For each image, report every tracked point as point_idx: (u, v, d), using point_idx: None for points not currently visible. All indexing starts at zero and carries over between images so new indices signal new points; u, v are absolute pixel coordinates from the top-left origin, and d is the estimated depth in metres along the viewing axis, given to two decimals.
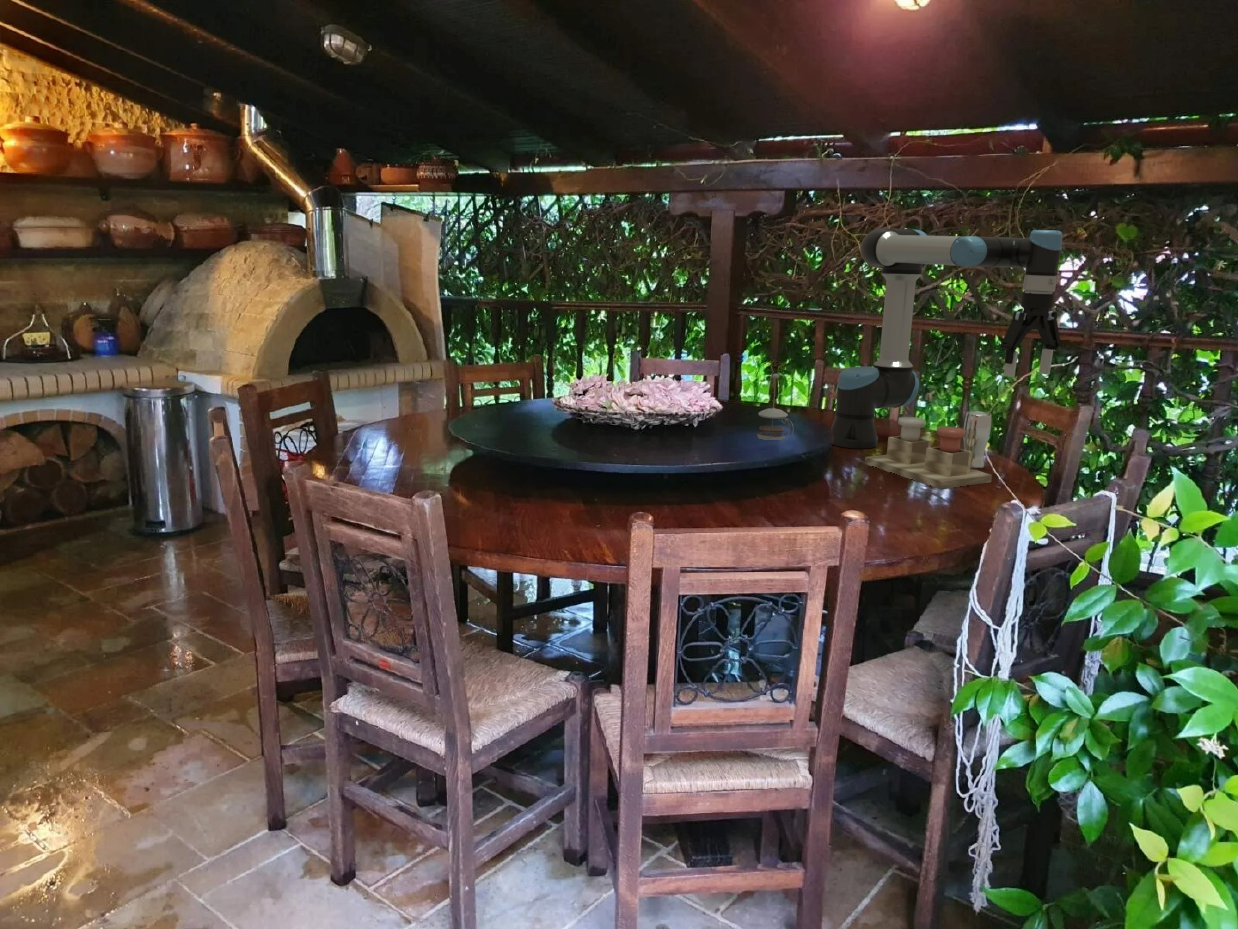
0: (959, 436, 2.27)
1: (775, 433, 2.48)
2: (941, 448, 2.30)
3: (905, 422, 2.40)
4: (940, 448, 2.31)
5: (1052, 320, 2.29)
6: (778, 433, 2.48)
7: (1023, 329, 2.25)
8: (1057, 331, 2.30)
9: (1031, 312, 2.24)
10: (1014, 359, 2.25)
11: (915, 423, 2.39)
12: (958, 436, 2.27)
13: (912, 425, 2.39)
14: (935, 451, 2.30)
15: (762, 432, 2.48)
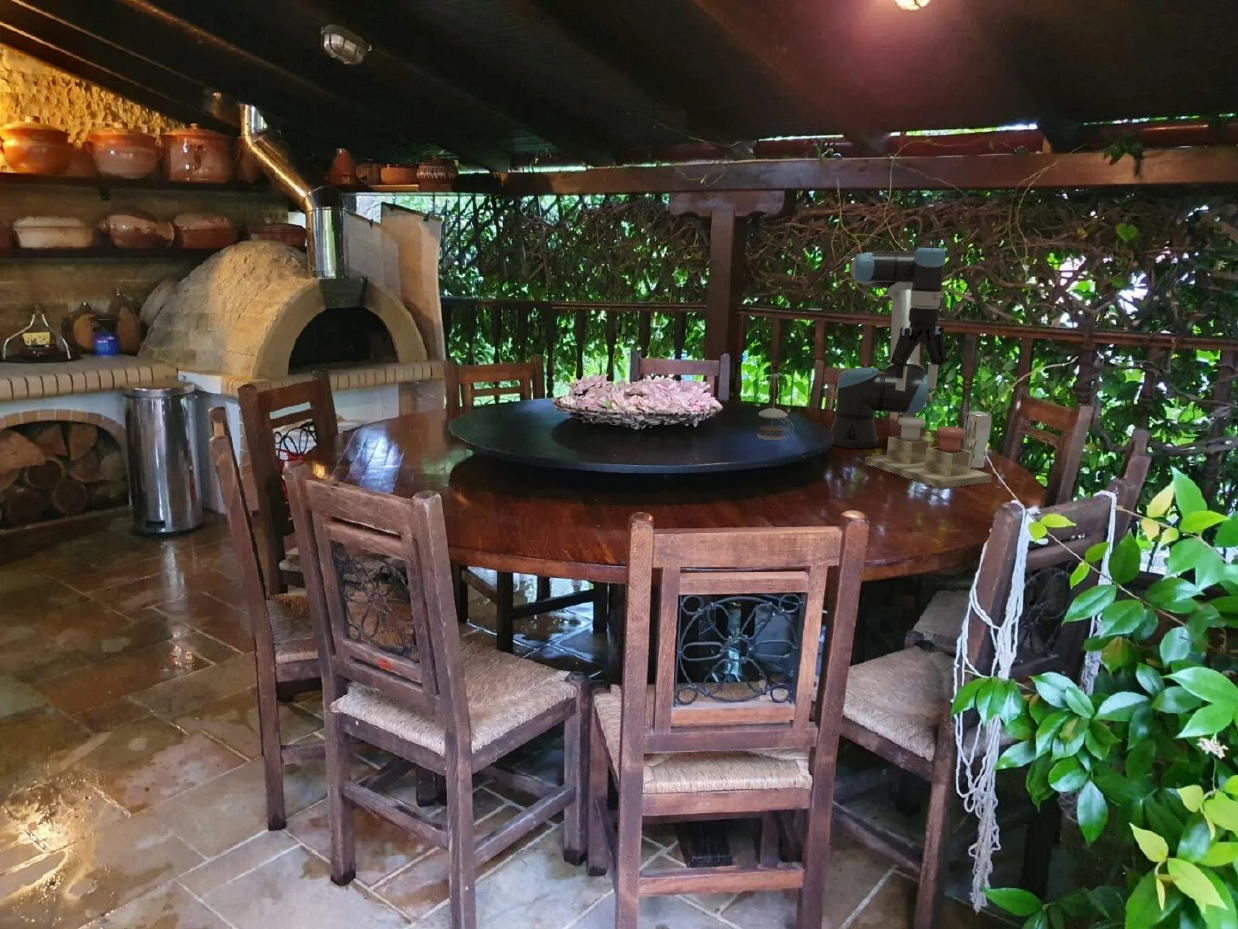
0: (959, 436, 2.27)
1: (775, 433, 2.48)
2: (941, 448, 2.30)
3: (905, 422, 2.40)
4: (940, 448, 2.31)
5: (939, 335, 2.38)
6: (778, 433, 2.48)
7: (911, 344, 2.35)
8: (943, 346, 2.40)
9: (916, 326, 2.33)
10: (904, 374, 2.35)
11: (915, 423, 2.39)
12: (958, 436, 2.27)
13: (912, 425, 2.39)
14: (935, 451, 2.30)
15: (762, 432, 2.48)
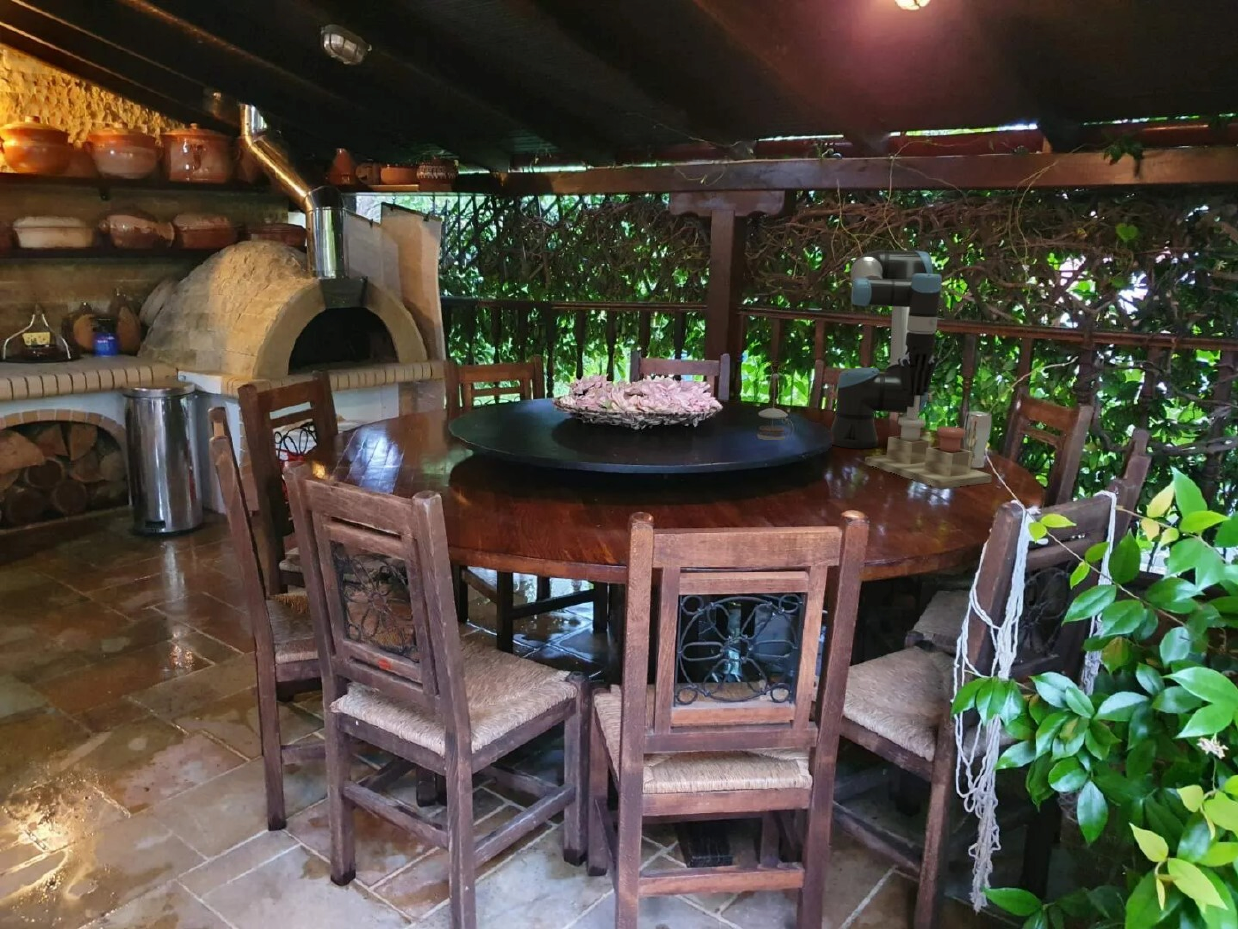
0: (959, 436, 2.27)
1: (775, 433, 2.48)
2: (941, 448, 2.30)
3: (905, 422, 2.40)
4: (940, 448, 2.31)
5: (931, 363, 2.40)
6: (778, 433, 2.48)
7: (913, 372, 2.38)
8: (930, 377, 2.40)
9: (912, 352, 2.35)
10: (915, 403, 2.40)
11: (915, 423, 2.39)
12: (958, 436, 2.27)
13: (912, 425, 2.39)
14: (935, 451, 2.30)
15: (762, 432, 2.48)
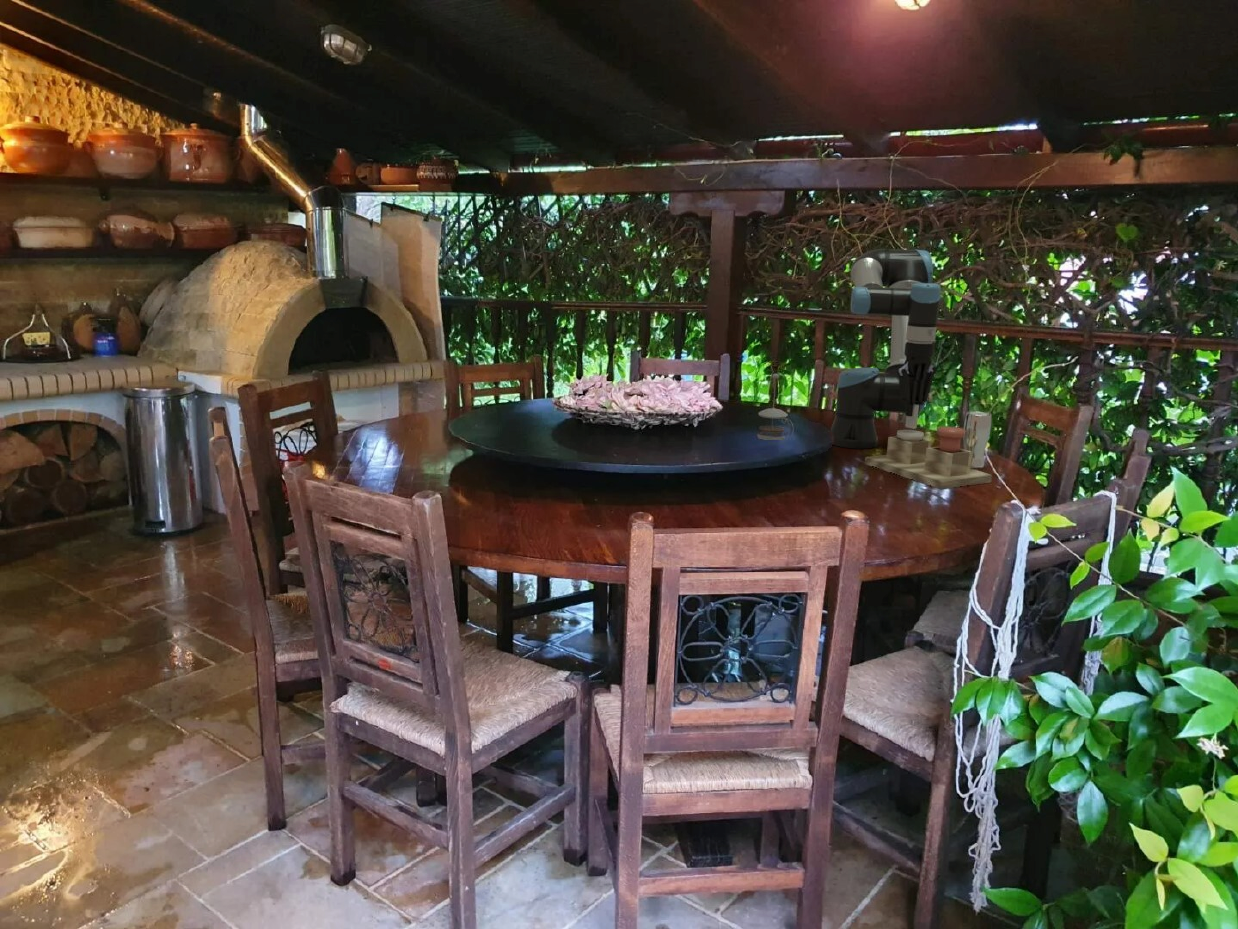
0: (959, 436, 2.27)
1: (775, 433, 2.48)
2: (941, 448, 2.30)
3: (904, 435, 2.41)
4: (940, 448, 2.31)
5: (930, 373, 2.40)
6: (778, 433, 2.48)
7: (912, 381, 2.38)
8: (929, 386, 2.41)
9: (911, 362, 2.36)
10: (914, 412, 2.41)
11: (914, 436, 2.40)
12: (958, 436, 2.27)
13: (911, 438, 2.40)
14: (935, 451, 2.30)
15: (762, 432, 2.48)
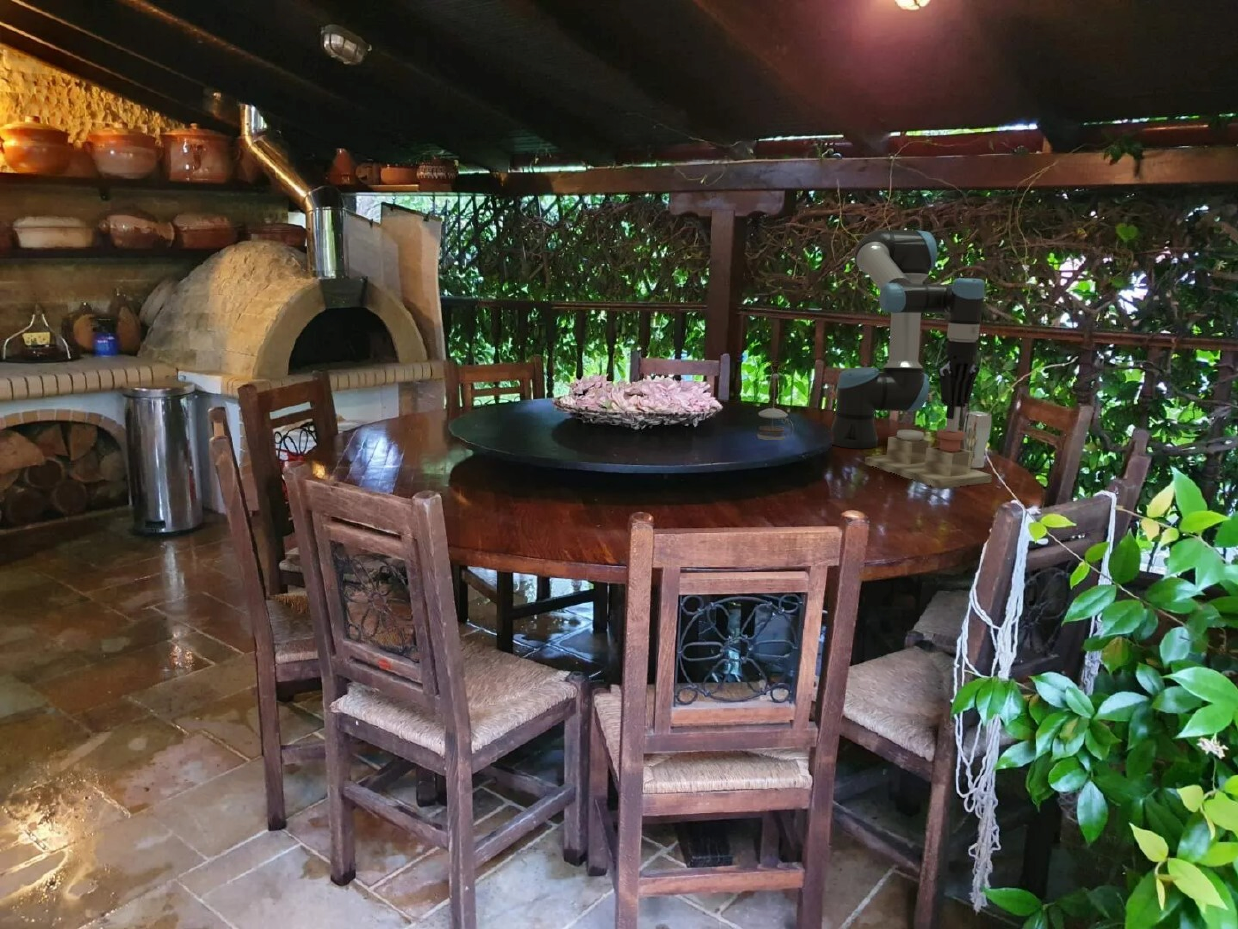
0: (959, 438, 2.27)
1: (775, 433, 2.48)
2: (941, 450, 2.31)
3: (904, 435, 2.41)
4: (940, 450, 2.31)
5: (972, 373, 2.28)
6: (778, 433, 2.48)
7: (953, 382, 2.26)
8: (971, 387, 2.28)
9: (953, 361, 2.23)
10: (955, 414, 2.28)
11: (914, 436, 2.40)
12: (958, 438, 2.27)
13: (911, 438, 2.40)
14: (935, 451, 2.30)
15: (762, 432, 2.48)
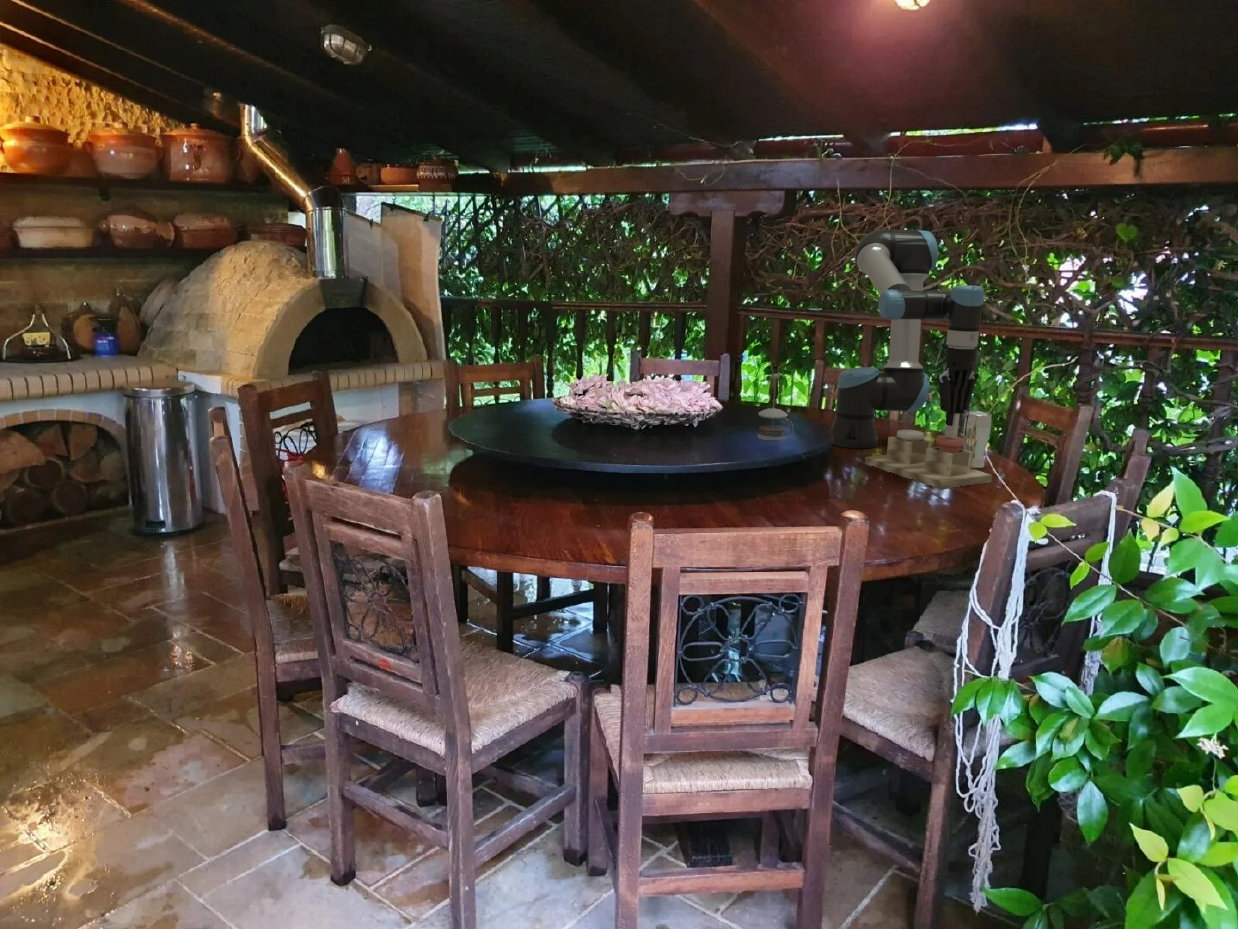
0: (958, 445, 2.28)
1: (775, 433, 2.48)
2: None
3: (904, 435, 2.41)
4: None
5: (972, 380, 2.28)
6: (778, 433, 2.48)
7: (953, 388, 2.26)
8: (970, 394, 2.29)
9: (952, 368, 2.23)
10: (954, 421, 2.28)
11: (914, 436, 2.40)
12: (957, 445, 2.28)
13: (911, 438, 2.40)
14: (935, 451, 2.30)
15: (762, 432, 2.48)
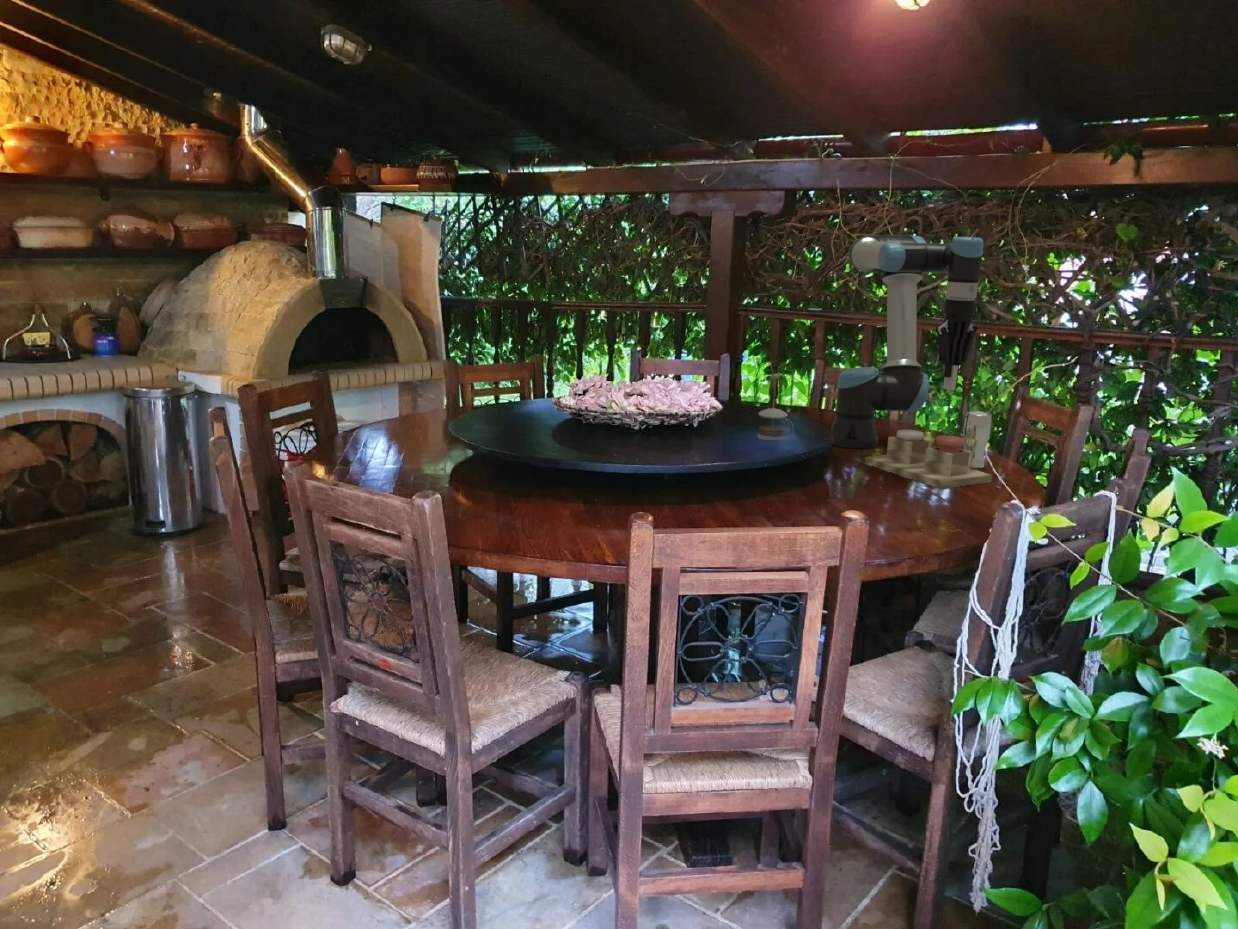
0: (958, 445, 2.28)
1: (775, 433, 2.48)
2: None
3: (904, 435, 2.41)
4: None
5: (970, 332, 2.30)
6: (778, 433, 2.48)
7: (951, 340, 2.28)
8: (969, 346, 2.30)
9: (951, 319, 2.25)
10: (952, 373, 2.30)
11: (914, 436, 2.40)
12: (957, 445, 2.28)
13: (911, 438, 2.40)
14: (935, 451, 2.30)
15: (762, 432, 2.48)
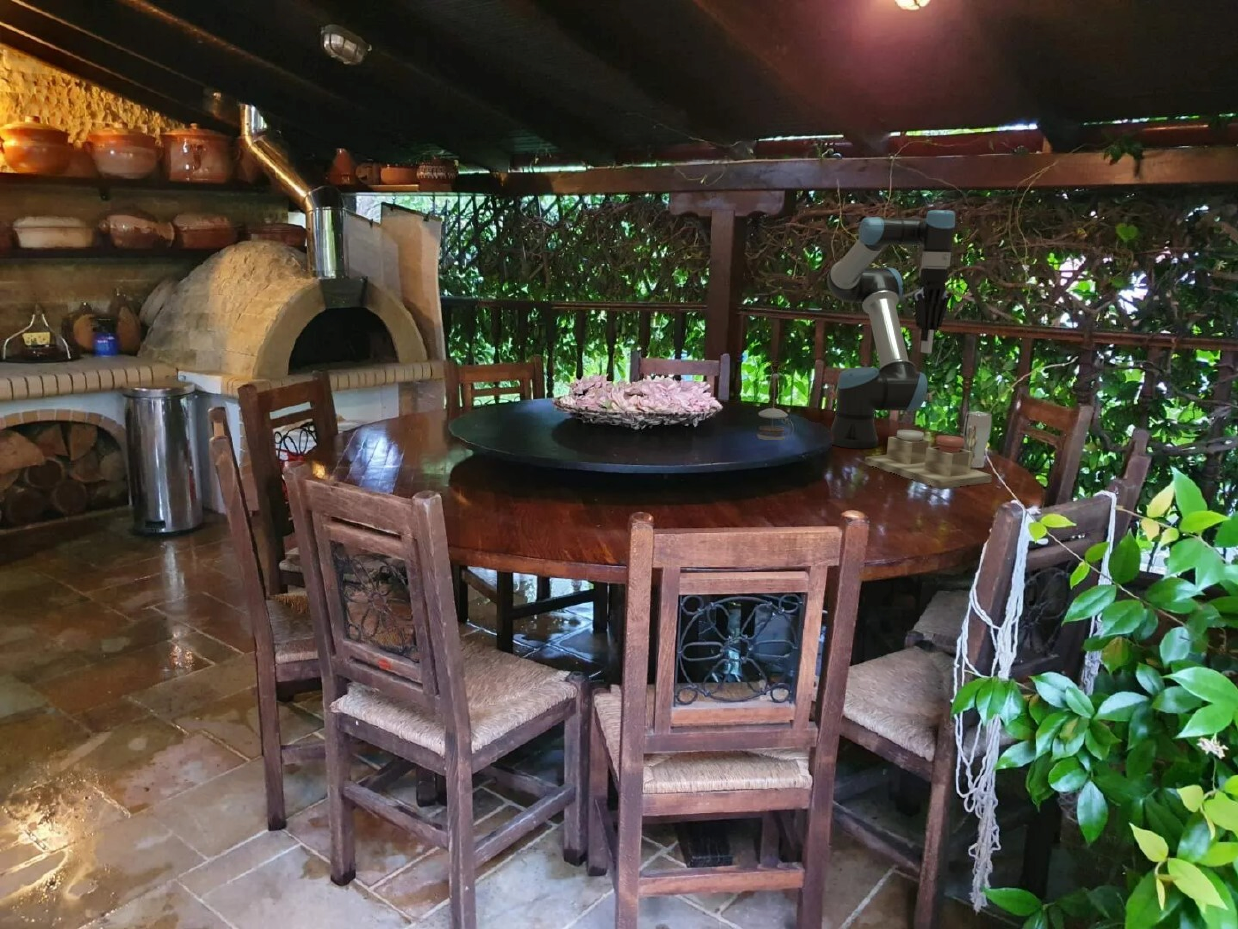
0: (958, 445, 2.28)
1: (775, 433, 2.48)
2: None
3: (904, 435, 2.41)
4: None
5: (945, 299, 2.49)
6: (778, 433, 2.48)
7: (927, 306, 2.47)
8: (944, 312, 2.49)
9: (926, 286, 2.44)
10: (929, 337, 2.49)
11: (914, 436, 2.40)
12: (957, 445, 2.28)
13: (911, 438, 2.40)
14: (935, 451, 2.30)
15: (762, 432, 2.48)
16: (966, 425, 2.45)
